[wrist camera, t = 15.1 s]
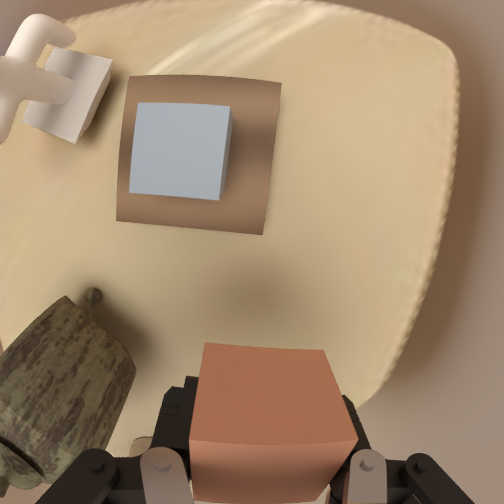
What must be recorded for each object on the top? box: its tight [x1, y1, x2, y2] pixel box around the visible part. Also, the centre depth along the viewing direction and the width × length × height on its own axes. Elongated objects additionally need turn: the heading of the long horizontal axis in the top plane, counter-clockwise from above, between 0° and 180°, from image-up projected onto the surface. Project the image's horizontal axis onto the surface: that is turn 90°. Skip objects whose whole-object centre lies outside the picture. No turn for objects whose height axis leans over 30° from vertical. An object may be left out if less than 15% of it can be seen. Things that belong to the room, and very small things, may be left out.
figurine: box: [0, 14, 113, 145], centre depth 13 cm, size 7×9×15 cm
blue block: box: [129, 103, 233, 201], centre depth 16 cm, size 5×5×5 cm
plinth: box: [116, 75, 282, 235], centre depth 21 cm, size 11×11×4 cm
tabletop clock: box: [0, 288, 136, 498], centre depth 16 cm, size 14×9×25 cm, turn 136°
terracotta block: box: [189, 343, 359, 504], centre depth 9 cm, size 4×4×4 cm
